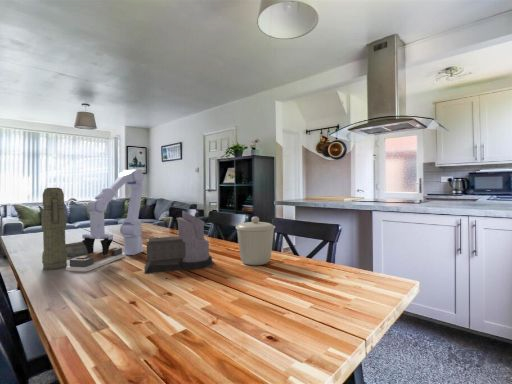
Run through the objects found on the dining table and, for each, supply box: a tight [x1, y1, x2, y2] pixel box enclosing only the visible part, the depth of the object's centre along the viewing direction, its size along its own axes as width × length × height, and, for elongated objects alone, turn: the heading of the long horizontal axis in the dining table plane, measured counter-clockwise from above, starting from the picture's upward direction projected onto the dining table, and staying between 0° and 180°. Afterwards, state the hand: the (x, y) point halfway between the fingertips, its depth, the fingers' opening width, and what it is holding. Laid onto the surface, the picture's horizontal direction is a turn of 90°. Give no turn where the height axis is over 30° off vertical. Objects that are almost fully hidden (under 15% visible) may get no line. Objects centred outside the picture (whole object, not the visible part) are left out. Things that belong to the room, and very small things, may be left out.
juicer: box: [144, 210, 216, 275], centre depth 124 cm, size 30×16×24 cm, turn 111°
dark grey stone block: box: [65, 240, 95, 258], centre depth 145 cm, size 8×19×7 cm, turn 133°
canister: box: [235, 216, 276, 266], centre depth 128 cm, size 18×18×21 cm
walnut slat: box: [77, 246, 117, 262], centre depth 130 cm, size 20×3×4 cm, turn 169°
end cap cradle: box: [65, 247, 126, 272], centre depth 130 cm, size 25×10×4 cm, turn 169°
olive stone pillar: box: [40, 187, 68, 271], centre depth 124 cm, size 9×12×35 cm
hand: (98, 254), depth 130 cm, fingers open, 7 cm apart
